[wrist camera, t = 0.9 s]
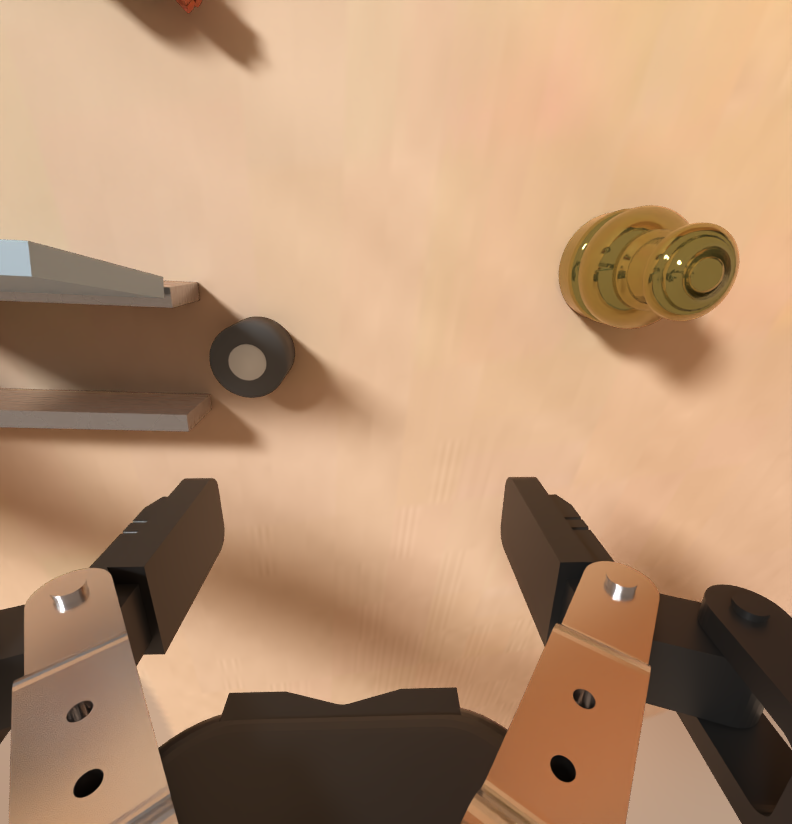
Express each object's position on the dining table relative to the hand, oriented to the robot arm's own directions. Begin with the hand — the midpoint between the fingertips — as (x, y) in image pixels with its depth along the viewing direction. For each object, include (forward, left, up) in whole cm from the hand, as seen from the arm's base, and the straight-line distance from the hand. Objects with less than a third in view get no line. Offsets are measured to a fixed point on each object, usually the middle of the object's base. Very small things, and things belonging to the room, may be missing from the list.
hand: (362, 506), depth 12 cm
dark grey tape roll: (-8, -1, -22) cm, 23 cm away
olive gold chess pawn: (+17, +6, -22) cm, 28 cm away
